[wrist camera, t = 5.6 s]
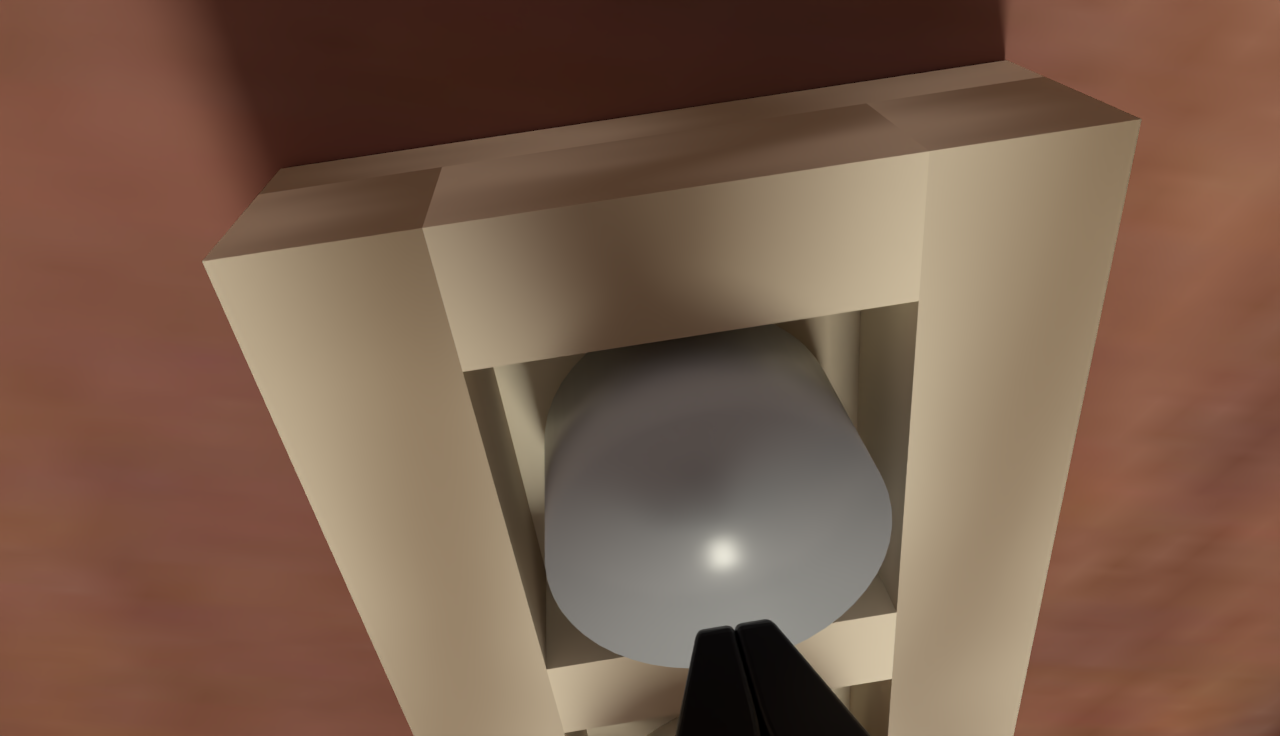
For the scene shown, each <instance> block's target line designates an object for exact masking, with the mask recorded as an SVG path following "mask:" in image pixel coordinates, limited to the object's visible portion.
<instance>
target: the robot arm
mask: <svg viewBox="0 0 1280 736" xmlns="http://www.w3.org/2000/svg"><path fill="white" fill-rule="evenodd" d="M675 736H871V735H870V734H869V733H868V732H867V731H866V729H865V728H864V727H863V726H862V725H861V724H860V722H859V721H858V720H857V719H856V718H855V717H854V715H853V714H852V713H851V712H850V711H849V710H848V708H847V707H846V706H845V705H844V704H843V702H842V701H841V700H840V699H839V698H838V697H837V695H836V694H835V693H834V692H833V691H832V690H831V688H830V687H829V686H828V685H827V684H826V683H825V681H824V680H823V679H822V678H821V677H820V675H819V674H818V673H817V672H816V671H815V670H814V668H813V667H812V666H811V665H810V664H809V663H808V661H807V660H806V659H805V658H804V657H803V656H802V654H801V653H800V652H799V651H798V650H797V649H796V647H795V646H794V645H793V644H792V643H791V641H790V640H789V639H788V638H787V637H786V636H785V634H784V633H783V632H782V631H781V630H780V629H779V627H778V626H777V625H776V624H775V623H774V622H772V621H771V620H769V619H762V620H756V621H750V622H743V623H739V624H738V625H737V626H736V627H735V630H734V629H733V628H732V627H731V626H728V625H725V626H719V627H713V628H707V629H702V630H700V631H698V633H697V634H696V637H695V641H694V646H693V651H692V656H691V661H690V665H689V670H688V675H687V680H686V685H685V690H684V695H683V699H682V704H681V709H680V714H679V719H678V724H677V729H676V733H675Z"/></svg>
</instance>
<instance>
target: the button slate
mask: <svg viewBox="0 0 1280 736" xmlns="http://www.w3.org/2000/svg"><path fill="white" fill-rule="evenodd" d="M544 464H545V569H546V575H547V581H548V584H549V587H550V589H551V592H552V595H553V597H554V599H555V601H556V603H557V604H558V606H559V608H560V610H561V611H562V612H563V614H564V615H565V616H566V617H567V619H568V620H569V621H570V622H571V623H572V624H573V625H574V626H575V627H576V628H577V629H578V630H579V631H580V632H581V633H583V634H584V635H585V636H586V637H588V638H589V639H591V640H592V641H594V642H595V643H597V644H598V645H600V646H602V647H604V648H606V649H608V650H610V651H612V652H614V653H616V654H618V655H621V656H624V657H627V658H629V659H632V660H636V661H640V662H643V663H647V664H652V665H658V666H665V667H674V668H689V665H690V661H691V656H692V651H693V646H694V641H695V637H696V634H697V633H698V631H700V630H702V629H707V628H713V627H719V626H725V625H728V626H731V627H732V628H733V629H734V630H735V627H736V626H737V625H738V624H739V623H743V622H750V621H756V620H762V619H769V620H771V621H772V622H774V623H775V624H776V625H777V626H778V627H779V629H780V630H781V631H782V632H783V633H784V634H785V636H786V637H787V638H788V639H789V640H790V641H791V643H792V644H793V645H796V644H799V643H801V642H803V641H805V640H807V639H808V638H810V637H812V636H813V635H815V634H817V633H818V632H820V631H821V630H823V629H825V628H826V627H827V626H829V625H830V624H831V623H833V622H834V621H835V620H837V619H838V618H839V617H841V616H842V615H843V614H844V613H845V612H846V611H847V610H848V609H849V608H850V607H851V606H852V605H853V604H855V602H856V601H857V600H858V599H859V598H860V597H861V595H862V594H863V593H864V592H865V591H866V590H867V588H868V587H869V585H870V584H871V582H872V581H873V579H874V578H875V576H876V575H877V573H878V571H879V569H880V567H881V565H882V562H883V560H884V558H885V555H886V552H887V549H888V546H889V543H890V537H891V530H892V507H891V503H890V498H889V493H888V490H887V488H886V485H885V483H884V481H883V478H882V476H881V474H880V472H879V470H878V469H877V467H876V465H875V463H874V461H873V459H872V458H871V456H870V454H869V452H868V450H867V448H866V447H865V445H864V443H863V441H862V439H861V438H860V436H859V434H858V432H857V430H856V428H855V427H854V425H853V423H852V421H851V419H850V417H849V416H848V414H847V412H846V410H845V408H844V406H843V405H842V403H841V401H840V399H839V397H838V395H837V394H836V392H835V390H834V388H833V386H832V385H831V383H830V381H829V379H828V377H827V375H826V374H825V372H824V370H823V369H822V367H821V365H820V364H819V362H818V361H817V359H816V358H815V356H814V355H813V354H812V353H811V352H810V351H809V350H808V349H807V347H806V346H805V345H804V344H802V343H801V342H800V341H799V340H798V339H796V338H795V337H794V336H793V335H791V334H790V333H788V332H787V331H785V330H783V329H782V328H780V327H778V326H777V325H775V324H768V325H761V326H755V327H748V328H742V329H735V330H729V331H723V332H716V333H710V334H703V335H697V336H690V337H684V338H678V339H671V340H665V341H658V342H652V343H645V344H639V345H632V346H626V347H620V348H613V349H607V350H600V351H594V352H588V353H586V354H585V355H584V356H583V357H582V358H581V360H580V361H579V362H578V363H577V364H576V365H575V366H574V367H573V368H572V369H571V371H570V372H569V373H568V375H567V376H566V378H565V379H564V380H563V382H562V383H561V385H560V387H559V389H558V391H557V392H556V394H555V396H554V398H553V401H552V404H551V407H550V409H549V412H548V416H547V421H546V427H545V444H544Z"/></svg>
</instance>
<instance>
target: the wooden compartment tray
mask: <svg viewBox="0 0 1280 736" xmlns="http://www.w3.org/2000/svg"><path fill="white" fill-rule="evenodd" d="M1140 124H1141V119H1140V118H1138V117H1136V116H1133V115H1131V114H1129V113H1126V112H1124V111H1122V110H1120V109H1117V108H1115V107H1113V106H1110V105H1108V104H1106V103H1104V102H1101V101H1099V100H1097V99H1094V98H1092V97H1090V96H1088V95H1085V94H1083V93H1081V92H1078V91H1076V90H1074V89H1072V88H1069V87H1067V86H1065V85H1062V84H1060V83H1058V82H1056V81H1053V80H1051V79H1049V78H1046V77H1044V76H1042V75H1040V74H1037V73H1035V72H1033V71H1030V70H1028V69H1026V68H1024V67H1021V66H1019V65H1017V64H1014V63H1012V62H1010V61H1008V60H1005V61H998V62H991V63H985V64H978V65H971V66H965V67H958V68H951V69H945V70H938V71H931V72H924V73H918V74H911V75H904V76H898V77H891V78H884V79H878V80H871V81H864V82H858V83H851V84H844V85H837V86H831V87H824V88H817V89H811V90H804V91H797V92H791V93H784V94H777V95H771V96H764V97H757V98H750V99H744V100H737V101H730V102H724V103H717V104H710V105H704V106H697V107H690V108H684V109H677V110H670V111H663V112H657V113H650V114H643V115H637V116H630V117H623V118H617V119H610V120H603V121H597V122H590V123H583V124H576V125H570V126H563V127H556V128H550V129H543V130H536V131H530V132H523V133H516V134H510V135H503V136H496V137H489V138H483V139H476V140H469V141H463V142H456V143H449V144H443V145H436V146H429V147H423V148H416V149H409V150H402V151H396V152H389V153H382V154H376V155H369V156H362V157H356V158H349V159H342V160H336V161H329V162H322V163H315V164H309V165H302V166H295V167H289V168H282V169H280V170H279V171H278V172H277V173H276V174H275V176H274V177H273V178H272V179H271V180H270V182H269V183H268V184H267V185H266V186H265V187H264V189H263V190H262V191H261V192H260V193H259V195H258V196H257V197H256V198H255V199H254V201H253V202H252V203H251V204H250V205H249V206H248V208H247V209H246V210H245V211H244V212H243V214H242V215H241V216H240V217H239V218H238V219H237V221H236V222H235V223H234V224H233V225H232V227H231V228H230V229H229V230H228V231H227V233H226V234H225V235H224V236H223V237H222V238H221V240H220V241H219V242H218V243H217V244H216V246H215V247H214V248H213V249H212V250H211V251H210V253H209V254H208V255H207V256H206V257H205V259H204V260H203V261H202V262H203V264H204V267H205V269H206V271H207V273H208V276H209V278H210V280H211V282H212V285H213V287H214V289H215V291H216V294H217V296H218V298H219V300H220V303H221V305H222V307H223V309H224V311H225V314H226V316H227V318H228V320H229V323H230V325H231V327H232V329H233V332H234V334H235V336H236V338H237V341H238V343H239V345H240V347H241V350H242V352H243V354H244V356H245V359H246V361H247V363H248V365H249V367H250V370H251V372H252V374H253V376H254V379H255V381H256V383H257V385H258V388H259V390H260V392H261V394H262V397H263V399H264V401H265V403H266V406H267V408H268V410H269V412H270V415H271V417H272V419H273V421H274V424H275V426H276V428H277V430H278V432H279V435H280V437H281V439H282V441H283V444H284V446H285V448H286V450H287V453H288V455H289V457H290V459H291V462H292V464H293V466H294V468H295V471H296V473H297V475H298V477H299V480H300V482H301V484H302V486H303V488H304V491H305V493H306V495H307V497H308V500H309V502H310V504H311V506H312V509H313V511H314V513H315V515H316V518H317V520H318V522H319V524H320V527H321V529H322V531H323V533H324V536H325V538H326V540H327V542H328V544H329V547H330V549H331V551H332V553H333V556H334V558H335V560H336V562H337V565H338V567H339V569H340V571H341V574H342V576H343V578H344V580H345V583H346V585H347V587H348V589H349V592H350V594H351V596H352V598H353V600H354V603H355V605H356V607H357V609H358V612H359V614H360V616H361V618H362V621H363V623H364V625H365V627H366V630H367V632H368V634H369V636H370V639H371V641H372V643H373V645H374V648H375V650H376V652H377V654H378V657H379V659H380V661H381V663H382V665H383V668H384V670H385V672H386V674H387V677H388V679H389V681H390V683H391V686H392V688H393V690H394V692H395V695H396V697H397V699H398V701H399V704H400V706H401V708H402V710H403V713H404V715H405V717H406V719H407V721H408V724H409V726H410V728H411V730H412V733H413V735H414V736H647V735H648V734H650V733H651V732H653V731H654V730H656V729H657V728H659V727H661V726H662V725H664V724H666V723H668V722H670V721H672V720H674V719H676V718H678V717H679V714H680V709H681V704H682V699H683V695H684V690H685V685H686V680H687V675H688V670H689V668H674V667H665V666H658V665H652V664H647V663H643V662H640V661H636V660H632V659H629V658H627V657H624V656H621V655H618V654H616V653H614V652H612V651H610V650H608V649H606V648H604V647H602V646H600V645H598V644H597V643H595V642H594V641H592V640H591V639H589V638H588V637H586V636H585V635H584V634H583V633H581V632H580V631H579V630H578V629H577V628H576V627H575V626H574V625H573V624H572V623H571V622H570V621H569V620H568V619H567V617H566V616H565V615H564V614H563V612H562V611H561V610H560V608H559V606H558V604H557V603H556V601H555V599H554V597H553V595H552V592H551V589H550V587H549V584H548V581H547V575H546V569H545V464H544V444H545V427H546V421H547V416H548V412H549V409H550V407H551V404H552V401H553V398H554V396H555V394H556V392H557V391H558V389H559V387H560V385H561V383H562V382H563V380H564V379H565V378H566V376H567V375H568V373H569V372H570V371H571V369H572V368H573V367H574V366H575V365H576V364H577V363H578V362H579V361H580V360H581V358H582V357H583V356H584V355H585V354H586V353H588V352H594V351H600V350H607V349H613V348H620V347H626V346H632V345H639V344H645V343H652V342H658V341H665V340H671V339H678V338H684V337H690V336H697V335H703V334H710V333H716V332H723V331H729V330H735V329H742V328H748V327H755V326H761V325H768V324H775V325H777V326H778V327H780V328H782V329H783V330H785V331H787V332H788V333H790V334H791V335H793V336H794V337H795V338H796V339H798V340H799V341H800V342H801V343H802V344H804V345H805V346H806V347H807V349H808V350H809V351H810V352H811V353H812V354H813V355H814V356H815V358H816V359H817V361H818V362H819V364H820V365H821V367H822V369H823V370H824V372H825V374H826V375H827V377H828V379H829V381H830V383H831V385H832V386H833V388H834V390H835V392H836V394H837V395H838V397H839V399H840V401H841V403H842V405H843V406H844V408H845V410H846V412H847V414H848V416H849V417H850V419H851V421H852V423H853V425H854V427H855V428H856V430H857V432H858V434H859V436H860V438H861V439H862V441H863V443H864V445H865V447H866V448H867V450H868V452H869V454H870V456H871V458H872V459H873V461H874V463H875V465H876V467H877V469H878V470H879V472H880V474H881V476H882V478H883V481H884V483H885V485H886V488H887V490H888V493H889V498H890V503H891V507H892V530H891V537H890V543H889V546H888V549H887V552H886V555H885V558H884V560H883V562H882V565H881V567H880V569H879V571H878V573H877V575H876V576H875V578H874V579H873V581H872V582H871V584H870V585H869V587H868V588H867V590H866V591H865V592H864V593H863V594H862V595H861V597H860V598H859V599H858V600H857V601H856V602H855V604H853V605H852V606H851V607H850V608H849V609H848V610H847V611H846V612H845V613H844V614H843V615H842V616H841V617H839V618H838V619H837V620H835V621H834V622H833V623H831V624H830V625H829V626H827V627H826V628H825V629H823V630H821V631H820V632H818V633H817V634H815V635H813V636H812V637H810V638H808V639H807V640H805V641H803V642H801V643H799V644H796V645H794V646H795V647H796V649H797V650H798V651H799V652H800V653H801V654H802V656H803V657H804V658H805V659H806V660H807V661H808V663H809V664H810V665H811V666H812V667H813V668H814V670H815V671H816V672H817V673H818V674H819V675H820V677H821V678H822V679H823V680H824V681H825V683H826V684H827V685H828V686H829V687H830V688H831V690H832V691H833V692H834V693H835V694H836V695H837V697H838V698H839V699H840V700H841V701H842V702H843V704H844V705H845V706H846V707H847V708H848V710H849V711H850V712H851V713H852V714H853V715H854V717H855V718H856V719H857V720H858V721H859V722H860V724H861V725H862V726H863V727H864V728H865V729H866V731H867V732H868V733H869V734H870V735H871V736H1013V735H1014V730H1015V726H1016V721H1017V716H1018V711H1019V706H1020V702H1021V697H1022V692H1023V687H1024V682H1025V677H1026V673H1027V668H1028V663H1029V658H1030V653H1031V649H1032V644H1033V639H1034V634H1035V629H1036V625H1037V620H1038V615H1039V610H1040V605H1041V600H1042V596H1043V591H1044V586H1045V581H1046V576H1047V572H1048V567H1049V562H1050V557H1051V552H1052V548H1053V543H1054V538H1055V533H1056V528H1057V523H1058V519H1059V514H1060V509H1061V504H1062V499H1063V495H1064V490H1065V485H1066V480H1067V475H1068V470H1069V466H1070V461H1071V456H1072V451H1073V446H1074V442H1075V437H1076V432H1077V427H1078V422H1079V418H1080V413H1081V408H1082V403H1083V398H1084V393H1085V389H1086V384H1087V379H1088V374H1089V369H1090V365H1091V360H1092V355H1093V350H1094V345H1095V341H1096V336H1097V331H1098V326H1099V321H1100V316H1101V312H1102V307H1103V302H1104V297H1105V292H1106V288H1107V283H1108V278H1109V273H1110V268H1111V264H1112V259H1113V254H1114V249H1115V244H1116V239H1117V235H1118V230H1119V225H1120V220H1121V215H1122V211H1123V206H1124V201H1125V196H1126V191H1127V187H1128V182H1129V177H1130V172H1131V167H1132V162H1133V158H1134V153H1135V148H1136V143H1137V138H1138V134H1139V129H1140Z"/></svg>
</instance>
